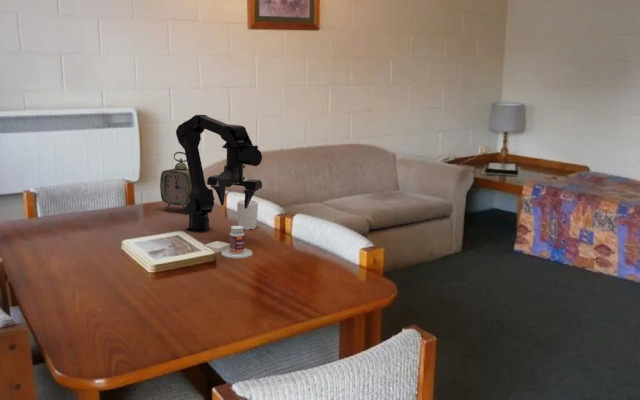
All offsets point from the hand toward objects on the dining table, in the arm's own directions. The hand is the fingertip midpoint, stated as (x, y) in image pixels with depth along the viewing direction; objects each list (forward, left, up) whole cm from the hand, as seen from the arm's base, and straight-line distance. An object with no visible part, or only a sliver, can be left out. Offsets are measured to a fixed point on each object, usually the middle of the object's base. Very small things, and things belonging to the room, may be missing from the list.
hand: (234, 206), depth 211 cm
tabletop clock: (-40, +28, -12) cm, 50 cm away
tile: (+1, -8, -12) cm, 14 cm away
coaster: (+9, -14, -12) cm, 21 cm away
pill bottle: (+9, -14, -12) cm, 20 cm away
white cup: (-4, +18, -12) cm, 22 cm away
